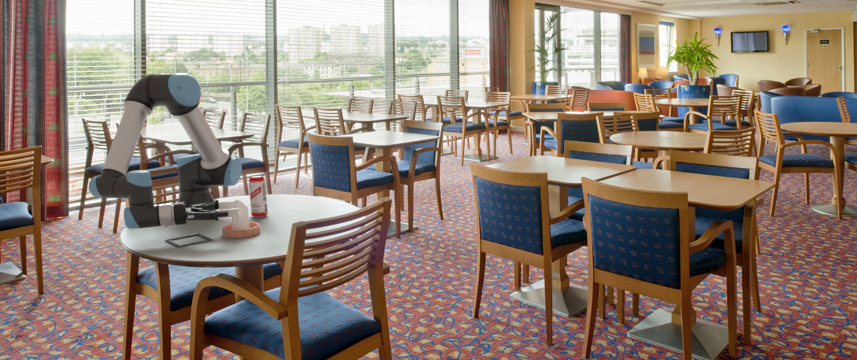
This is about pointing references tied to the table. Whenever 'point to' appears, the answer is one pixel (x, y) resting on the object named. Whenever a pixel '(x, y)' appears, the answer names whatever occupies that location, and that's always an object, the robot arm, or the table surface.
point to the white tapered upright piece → (241, 216)
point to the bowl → (241, 231)
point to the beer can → (258, 196)
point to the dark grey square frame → (189, 243)
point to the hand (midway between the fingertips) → (238, 208)
